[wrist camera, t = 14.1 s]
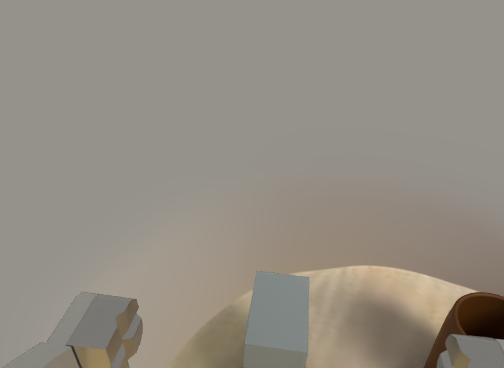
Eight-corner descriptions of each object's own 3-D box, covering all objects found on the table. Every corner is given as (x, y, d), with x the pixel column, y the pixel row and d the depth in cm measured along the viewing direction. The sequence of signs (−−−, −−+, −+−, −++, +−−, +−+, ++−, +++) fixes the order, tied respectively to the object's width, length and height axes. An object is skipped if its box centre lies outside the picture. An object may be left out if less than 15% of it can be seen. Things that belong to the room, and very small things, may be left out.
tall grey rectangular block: (296, 356, 39) (309, 277, 33) (293, 432, 33) (307, 352, 27) (252, 350, 39) (256, 270, 33) (241, 423, 34) (244, 343, 28)
